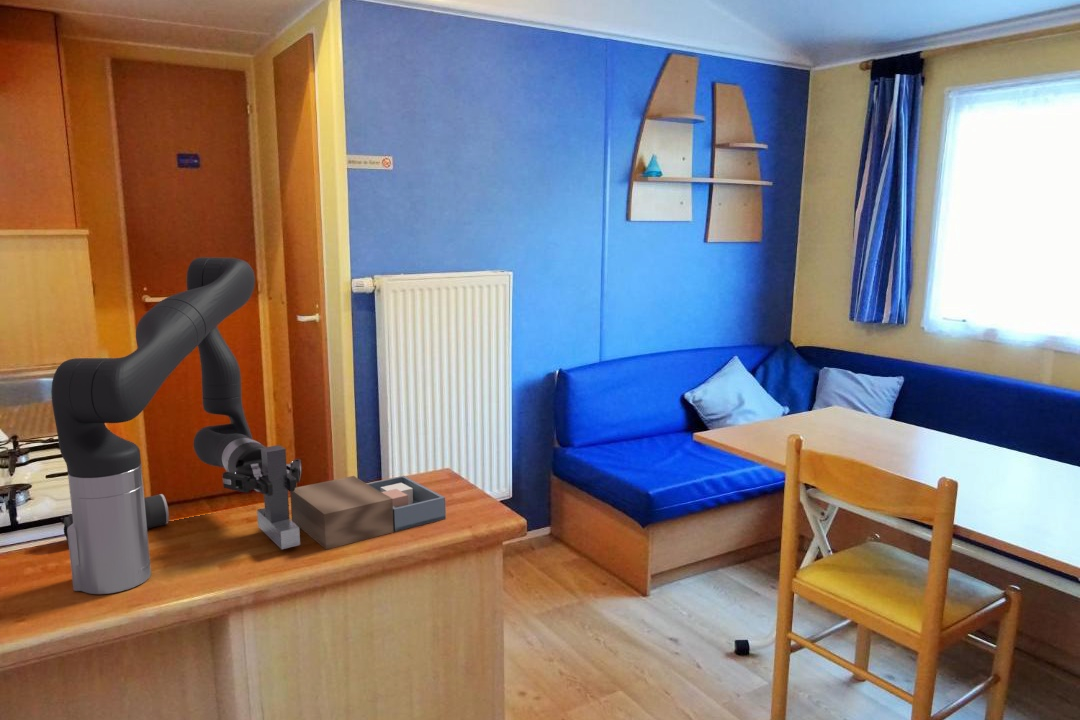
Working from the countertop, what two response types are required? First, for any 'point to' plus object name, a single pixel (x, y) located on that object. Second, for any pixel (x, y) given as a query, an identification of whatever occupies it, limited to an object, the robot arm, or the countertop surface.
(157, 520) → the flashlight
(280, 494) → the dark grey tall part
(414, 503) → the box
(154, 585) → the countertop surface
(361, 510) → the marbled brown box
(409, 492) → the white block
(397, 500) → the pink block
